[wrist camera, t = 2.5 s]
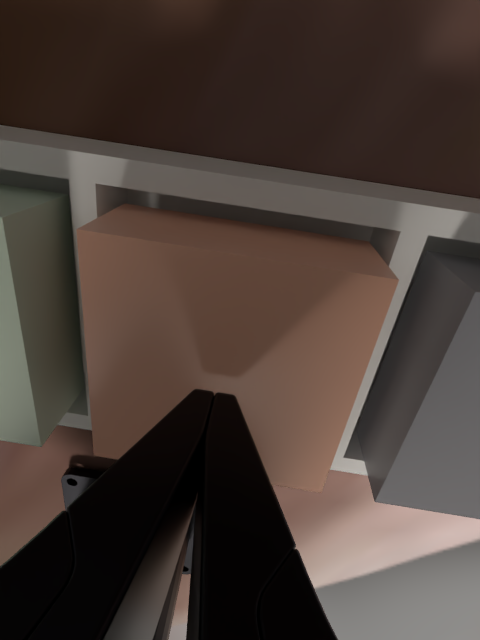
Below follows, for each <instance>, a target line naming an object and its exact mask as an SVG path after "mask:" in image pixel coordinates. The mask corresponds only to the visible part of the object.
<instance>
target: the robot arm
mask: <svg viewBox="0 0 480 640" xmlns="http://www.w3.org/2000/svg"><path fill="white" fill-rule="evenodd" d="M61 482H62V488H63V495H64V502H65V509H66V511H62V512H61V513H60V514H59V515H57V516H56V517H55V518H54V519H53V520H52V521H51V522H50V523H49V524H48V525H47V526H46V527H45V528H44V529H43V530H41V531H40V532H39V533H38V534H37V535H36V536H35V537H34V538H32V539H31V540H30V541H29V542H28V543H27V544H26V545H24V546H23V547H22V548H21V549H20V550H19V551H18V552H17V553H15V554H14V555H13V556H12V557H11V558H10V559H9V560H8V561H6V562H5V563H4V564H3V565H1V566H0V640H168V639H169V634H170V629H171V624H172V619H173V615H174V610H175V605H176V600H177V595H178V591H179V586H180V581H181V576H182V574H191V579H190V594H189V608H188V622H187V636H186V640H338V639H337V637H336V635H335V633H334V631H333V629H332V627H331V625H330V623H329V621H328V619H327V617H326V615H325V613H324V610H323V608H322V605H321V603H320V601H319V599H318V596H317V594H316V592H315V589H314V587H313V585H312V583H311V580H310V578H309V576H308V573H307V571H306V568H305V566H304V563H303V561H302V558H301V556H300V553H299V551H298V550H297V549H295V547H296V544H295V542H294V539H293V537H292V534H291V532H290V529H289V527H288V524H287V522H286V519H285V517H284V514H283V512H282V509H281V507H280V504H279V502H278V499H277V497H276V495H275V492H274V490H273V487H272V485H271V482H270V480H269V477H268V475H267V472H266V470H265V467H264V465H263V462H262V460H261V457H260V455H259V452H258V450H257V447H256V445H255V442H254V440H253V438H252V435H251V433H250V430H249V428H248V425H247V423H246V420H245V418H244V415H243V413H242V410H241V408H240V405H239V403H238V400H237V398H236V396H235V395H233V394H227V393H221V392H217V393H216V394H215V395H214V392H213V391H208V390H202V389H194V390H193V391H191V392H190V393H189V394H188V395H187V396H186V397H185V398H184V399H183V400H182V401H181V402H180V403H179V404H177V405H176V406H175V407H174V408H173V409H172V410H171V411H170V412H169V413H168V414H167V415H166V416H165V417H163V418H162V419H161V420H160V421H159V422H158V423H157V424H156V425H155V426H154V427H153V428H152V429H151V430H149V431H148V432H147V433H146V434H145V435H144V436H143V437H142V438H141V439H140V440H139V441H138V442H137V443H135V444H134V445H133V446H132V447H131V448H130V449H129V450H128V451H127V452H126V453H125V454H124V455H123V456H121V457H120V458H119V459H118V460H117V461H116V462H115V463H114V464H113V465H112V466H111V467H110V468H109V469H107V470H106V471H105V472H99V471H93V470H87V469H81V468H73V467H71V468H68V469H67V470H66V472H65V473H64V475H63V477H62V480H61Z"/></svg>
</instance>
